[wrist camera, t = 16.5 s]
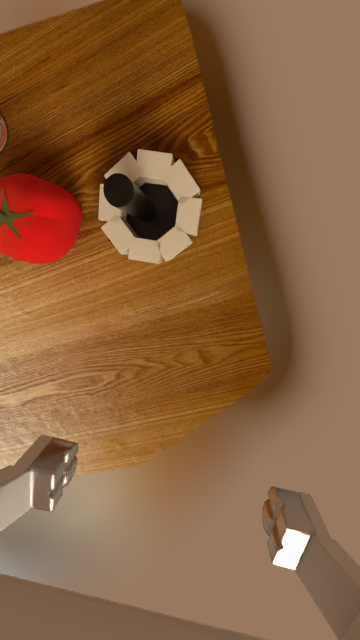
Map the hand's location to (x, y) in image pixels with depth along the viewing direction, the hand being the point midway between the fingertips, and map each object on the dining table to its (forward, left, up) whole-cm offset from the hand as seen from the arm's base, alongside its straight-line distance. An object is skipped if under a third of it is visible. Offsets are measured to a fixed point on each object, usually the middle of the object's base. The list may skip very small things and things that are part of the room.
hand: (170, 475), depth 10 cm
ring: (+8, -13, -29) cm, 33 cm away
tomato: (+23, -9, -31) cm, 40 cm away
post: (+9, -13, -31) cm, 34 cm away
